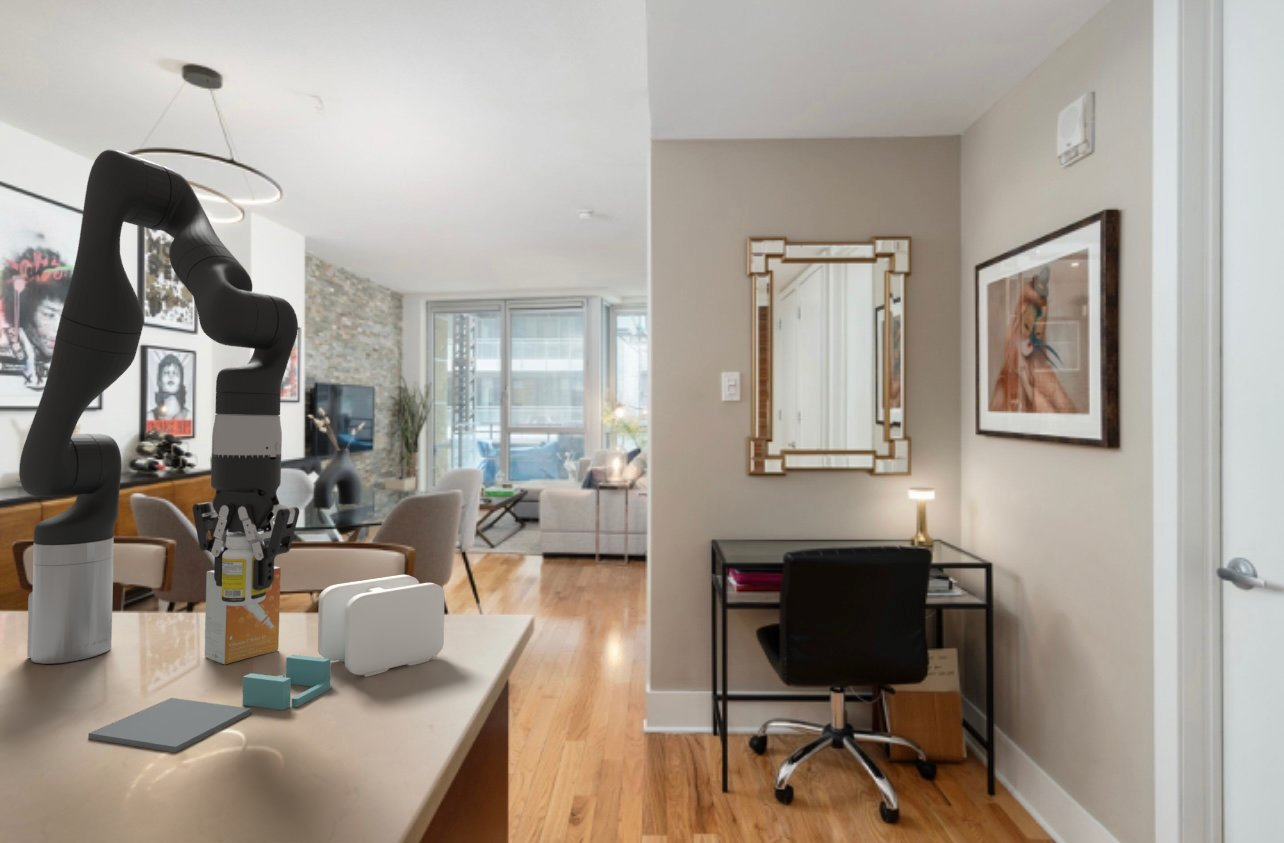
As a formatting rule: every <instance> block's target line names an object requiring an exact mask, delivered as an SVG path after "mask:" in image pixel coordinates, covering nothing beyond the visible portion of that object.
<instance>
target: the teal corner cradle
mask: <svg viewBox="0 0 1284 843" xmlns="http://www.w3.org/2000/svg"><path fill="white" fill-rule="evenodd" d="M285 660H286V662H285V665H286V666H285V675H282V674H279V675H277V676H276V675H269V674H267V675H266V674H260V673H251V672H250V673H248V674H246V675H244V676H242V705H243V706H249V707H257V708H264V709H265V708H266V709H271V710H281V711H285V710H286V709H288V708H290V707H295V708H298V707H300V706H302V705H304V704H306V703H307V702H309V701H311V700H312V699H315V698H316V697H318V696H320V695H321V694H323V693H325V692H328V690H331V661H330V659H328V658H324V657H318V656H309V655H301V654H299V655H298V654H291V655H288V656H287V657H286V658H285ZM291 685H297V686H303V687H305V686H306V687H310V688H309V689H307V690H305V691H303V692H301V693H300V694H297V695H295V696H293V697H292V698H291V692H292V690H291V687H292V686H291Z"/></svg>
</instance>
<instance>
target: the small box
mask: <svg viewBox="0 0 1284 843" xmlns="http://www.w3.org/2000/svg"><path fill="white" fill-rule="evenodd" d="M214 570H215V569H213V570H209V571H206V586H205V588H206V589H205V616H204V617H205V618H204V619H205V621H204V657H205V658H207V659H209V660H212V661H214V662H217V663H219V664H223V665H227V664H231V663H235V662H238V661H241V660H246V659H249V658H253V657H257V656H261V655H265V654H269V653H270V654H271V653H274V652H278V650H279V639H280V638H279V636H280V610H281V609H280V607H281V606H280V604H281V603H280V602H281V601H280V600H281V575H282V574H281V567H279V566H275V565H274V580H273V582H272V583H271V585H270V587H269V588H266V597H265V599H264V600H263V601H261V602H259V603H255V604H250V605H243V606H228V605H225V604H223V603H222V587H219V586H217V585H216V581H215V579H214Z"/></svg>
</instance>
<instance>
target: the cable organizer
mask: <svg viewBox="0 0 1284 843" xmlns="http://www.w3.org/2000/svg"><path fill="white" fill-rule="evenodd" d="M445 594H446V593H445V590H444V589H443V587H442V586H441V585H439V584H436V583H433V582H423V583H420V581H419V580H418V579H417V578H416V577H413V576H411V575H409V574H397V575H391V576H384V577H378V578H377V577H376V578H371V579H365V580H359V581H358V580H357V581H350V582H344V583H338V584H337V583H336V584H332V585H330V586H328V587H326V588H324V589H323V590H322V591H321V593H320V594H319V596H318V617H317V620H318V622H317V624H318V626H317V652H318V655H320V657H321V658H328V659H330V662H334V661H335V662H337V661H338V662H342V663H344V666H345V668H346V669H347V670H348V671H349V672H350V673H352V674H354V675H357V676H364V677H370V676H375V675H378V674H381V673H385V672H387V671H389V669H391V668H392V669H393V668H396V667H401V666H403V665H404V666H405V665H407V666H415V665H419V664H423V663H427V662H429V661H430V660H431V659H432V658H434V657H436V656H438V654H440V653H441V651H442V650H443V648H444V644H445V642H444V641H445Z"/></svg>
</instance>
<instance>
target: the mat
mask: <svg viewBox="0 0 1284 843" xmlns="http://www.w3.org/2000/svg"><path fill="white" fill-rule="evenodd" d="M251 714H252V708H251V707H250V708H249V707H243V706H237V705H236V706H234V705H229V704H220V703H212V702H205V701H199V700H190V699H183V698H177V697H169V698H168V699H166V700H162V701H160V702H158V703H156V704H153V705H151V706H149V707H147V708H144V709H143V710H142V709H141V710H139V711H138V712H135V713H132V714H129V715H128V716H126V717H123V718H121V719H118V720H116V721H114V722H112V723H109V724H107V725H105V726H104V725H103V727H100V728H97V729H95V730H93V731H90V732H88V739H89V740H95V741H100V742H102V741H103V742H109V743H115V744H119V745H120V744H121V745H127V746H132V747H133V746H134V747H139V748H144V749H145V748H146V749H152V750H158V751H165V752H170V753H171V752H172V753H177V752H180V751H181V750H183V749H185V748H187V747H188V746H191V745H193V744H195V743H196V742H199V741H200V740H202V739H204V738H206V737H208V736H210V735H213V734H214V733H215V732H218V731H220V730H222V729H223V727H224V726H226V727H227V725H228V726H229V725H231V724H233V723H235V722H237V721H239V720H241V719H243V718H245V717H247V716H249V715H251ZM221 728H222V729H221ZM224 728H225V727H224ZM217 730H218V731H217Z"/></svg>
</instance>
